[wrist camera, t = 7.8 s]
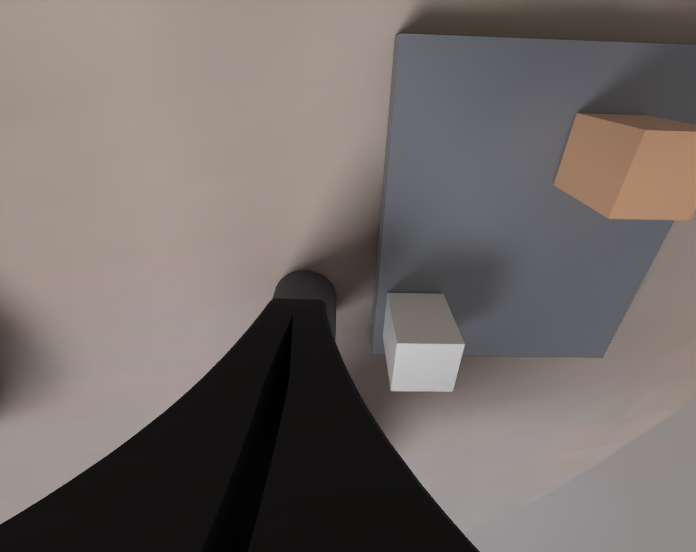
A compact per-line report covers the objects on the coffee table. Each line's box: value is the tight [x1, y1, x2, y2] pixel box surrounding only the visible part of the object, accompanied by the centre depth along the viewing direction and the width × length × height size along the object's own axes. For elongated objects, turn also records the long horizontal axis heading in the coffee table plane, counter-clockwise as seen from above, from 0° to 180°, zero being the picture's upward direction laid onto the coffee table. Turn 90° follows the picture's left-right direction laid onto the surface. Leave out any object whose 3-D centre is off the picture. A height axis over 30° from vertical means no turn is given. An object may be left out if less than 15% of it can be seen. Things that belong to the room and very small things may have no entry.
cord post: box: [273, 271, 336, 340], centre depth 18 cm, size 4×4×8 cm
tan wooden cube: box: [554, 113, 696, 221], centre depth 14 cm, size 3×3×4 cm
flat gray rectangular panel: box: [371, 33, 696, 358], centre depth 19 cm, size 16×14×2 cm
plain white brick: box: [383, 293, 465, 392], centre depth 19 cm, size 3×3×4 cm
